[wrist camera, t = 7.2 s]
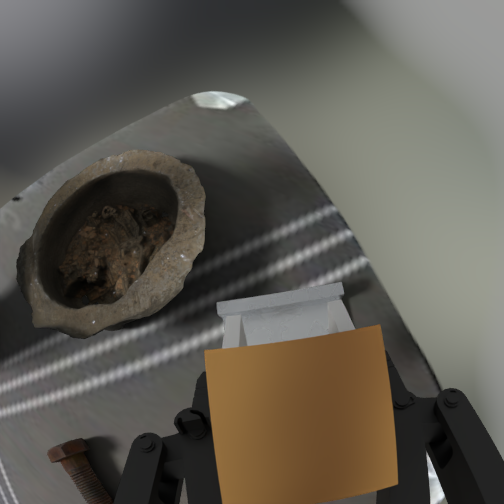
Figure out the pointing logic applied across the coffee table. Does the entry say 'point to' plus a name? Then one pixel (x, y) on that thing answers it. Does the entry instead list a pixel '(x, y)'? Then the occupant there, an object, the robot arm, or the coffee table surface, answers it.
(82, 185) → the stone bowl
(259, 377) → the block
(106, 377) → the coffee table surface
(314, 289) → the keeper bracket
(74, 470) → the bolt
